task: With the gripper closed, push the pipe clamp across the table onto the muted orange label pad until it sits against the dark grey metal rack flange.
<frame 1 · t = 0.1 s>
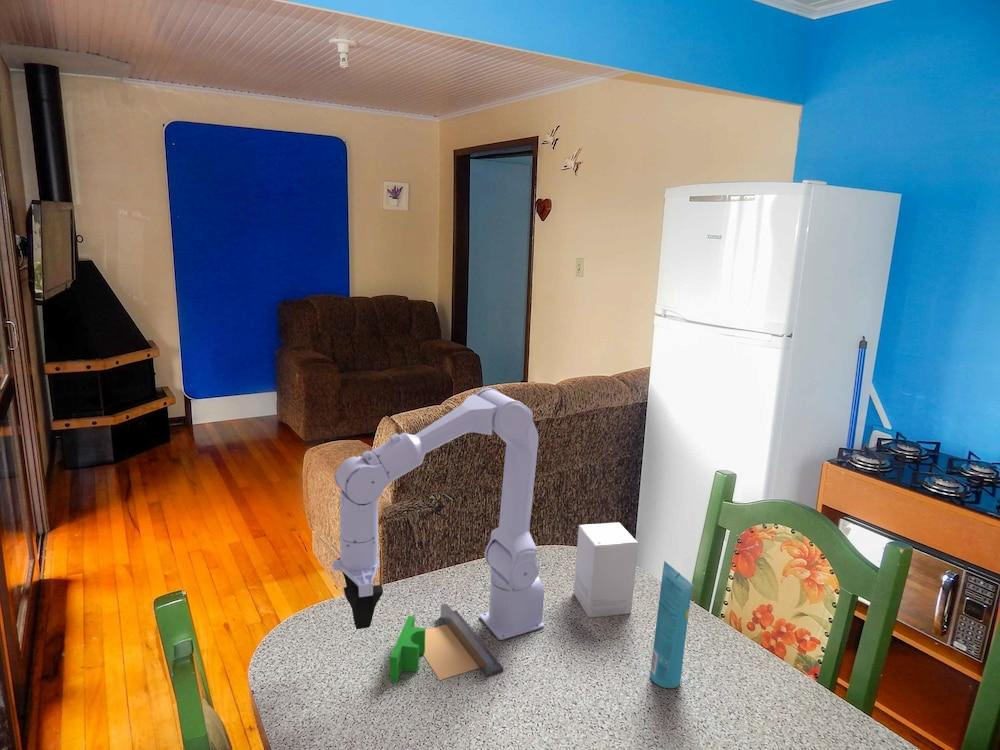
hand: (359, 613, 103), 10 cm above the table, tool pointing down, fingers open, 7 cm apart
rack flange: (463, 644, 112), on the table
tube: (665, 679, 106), on the table
pipe clamp: (409, 661, 107), on the table, touching rack flange
supplement box: (601, 604, 127), on the table
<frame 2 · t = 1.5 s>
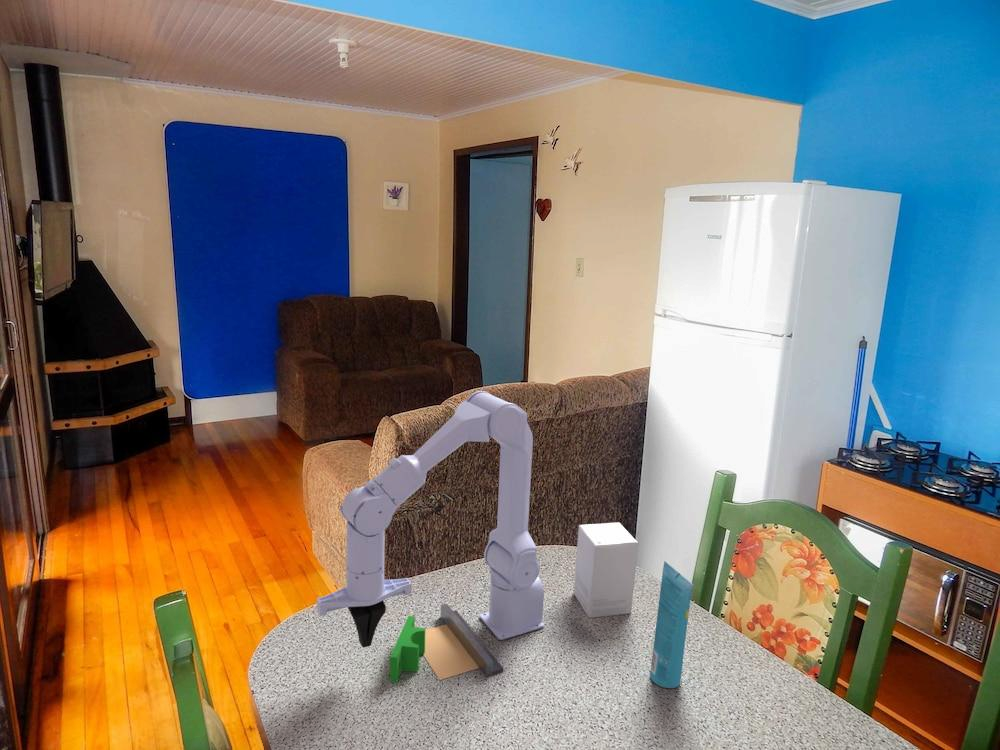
hand: (365, 643, 102), 6 cm above the table, tool pointing down, fingers closed
nothing on the table moved.
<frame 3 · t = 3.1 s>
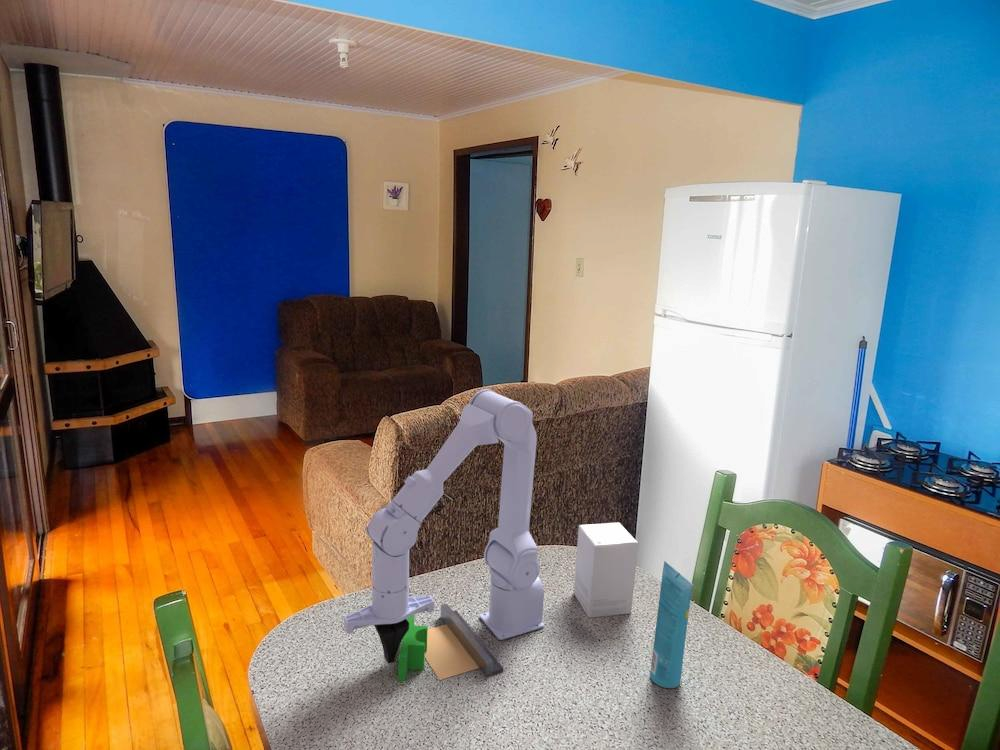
hand: (389, 659, 105), 1 cm above the table, tool pointing down, fingers closed
pipe clamp: (413, 660, 108), on the table, touching gripper, rack flange
everything else where it was.
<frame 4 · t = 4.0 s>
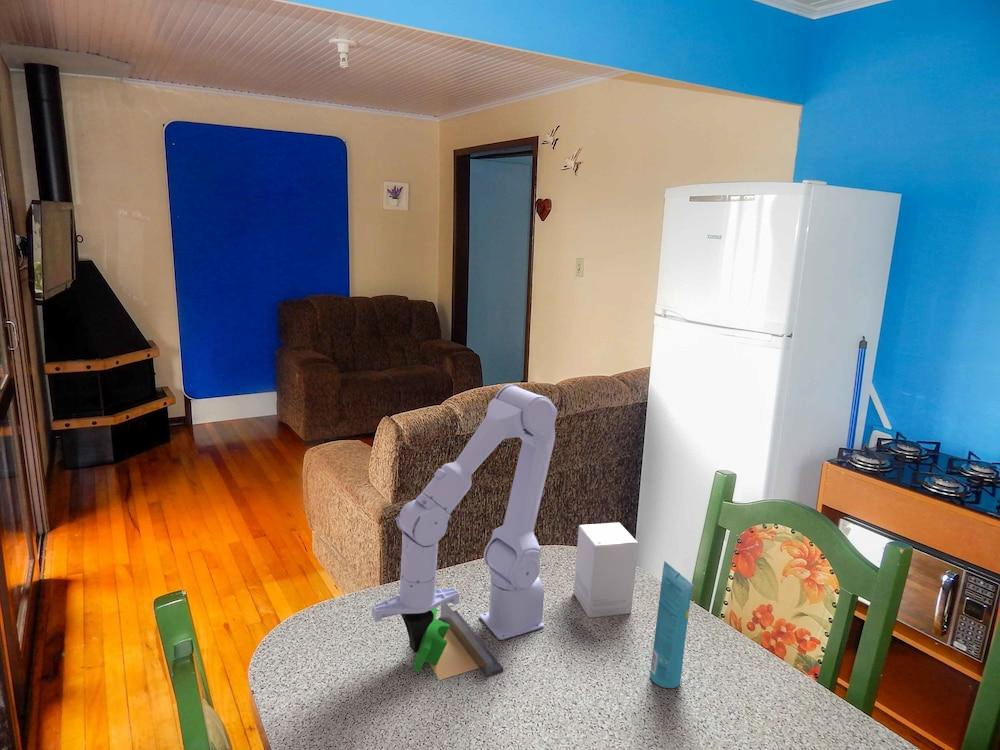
hand: (414, 649, 107), 2 cm above the table, tool pointing down, fingers closed, pressing on pipe clamp
pipe clamp: (426, 652, 109), point 1 cm above the table, touching gripper, rack flange
everything else where it was.
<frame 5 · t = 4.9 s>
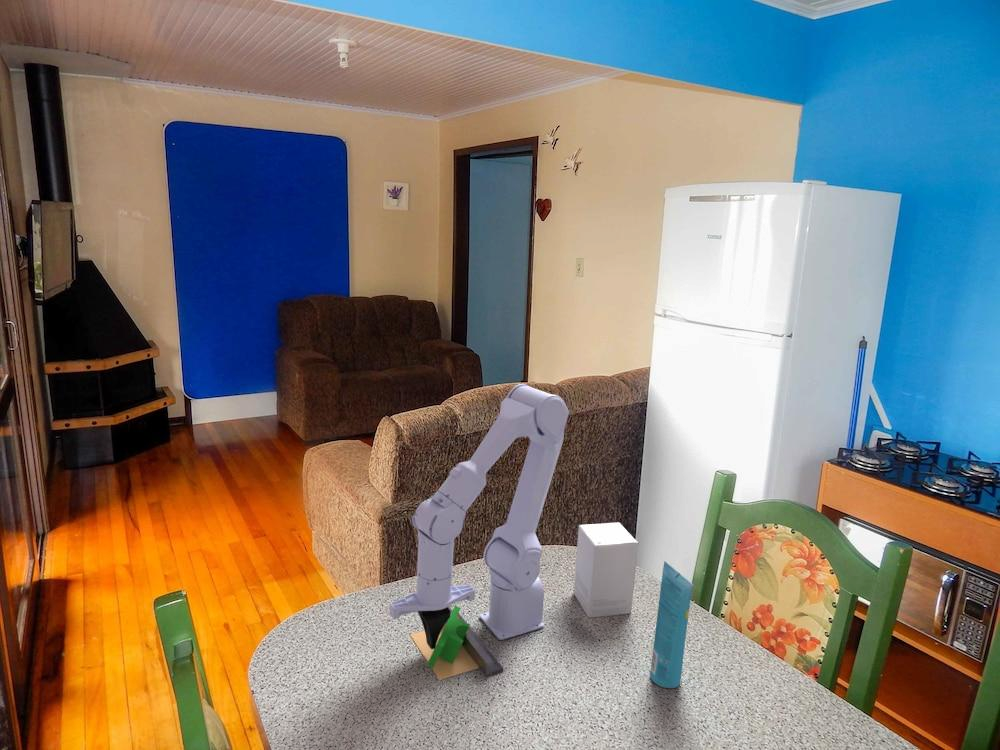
hand: (431, 645, 109), 2 cm above the table, tool pointing down, fingers closed, pressing on pipe clamp
pipe clamp: (445, 649, 110), point 1 cm above the table, touching gripper, rack flange
everything else where it was.
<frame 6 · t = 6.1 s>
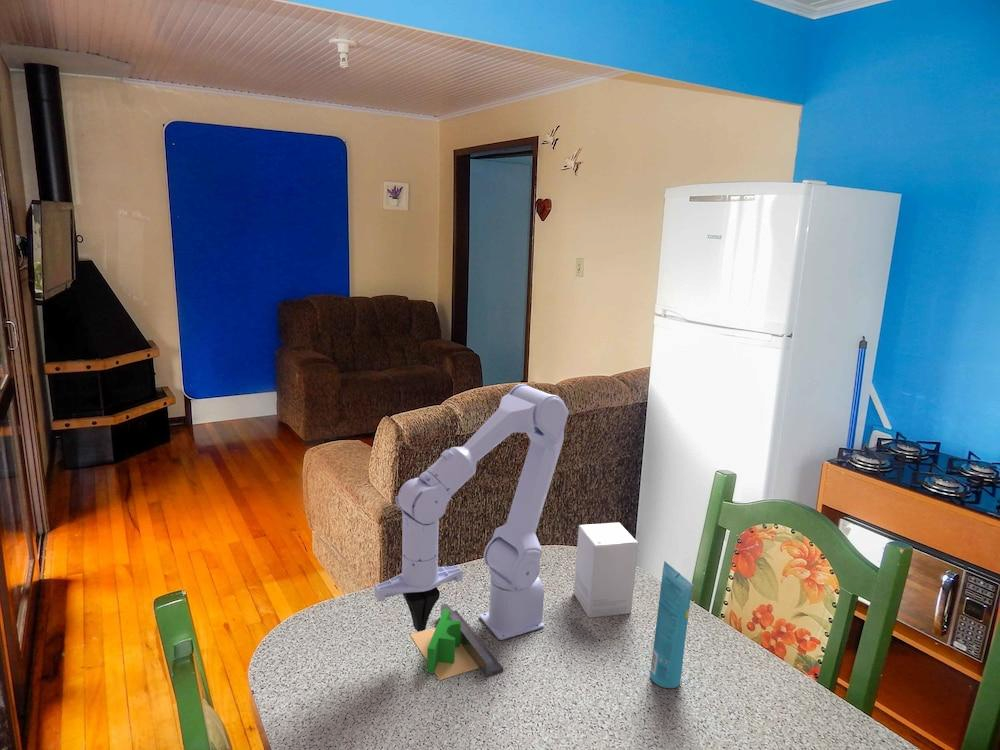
hand: (419, 627, 107), 6 cm above the table, tool pointing down, fingers closed
pipe clamp: (445, 653, 110), resting on rack flange
everything else where it was.
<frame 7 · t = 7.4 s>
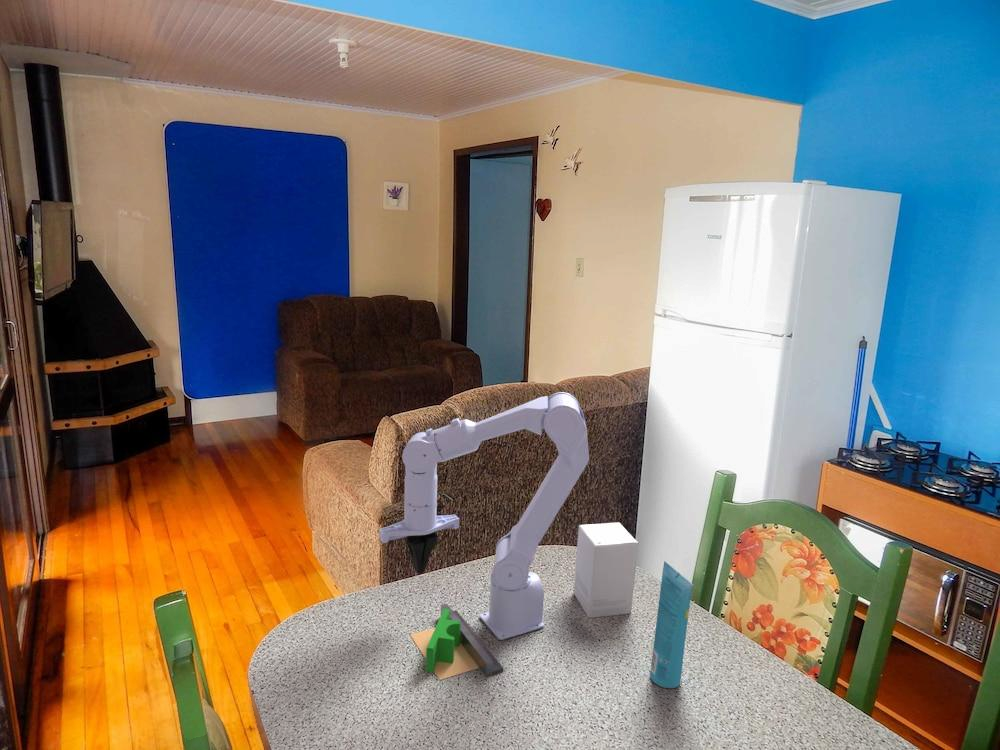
hand: (419, 570, 117), 9 cm above the table, tool pointing down, fingers closed
nothing on the table moved.
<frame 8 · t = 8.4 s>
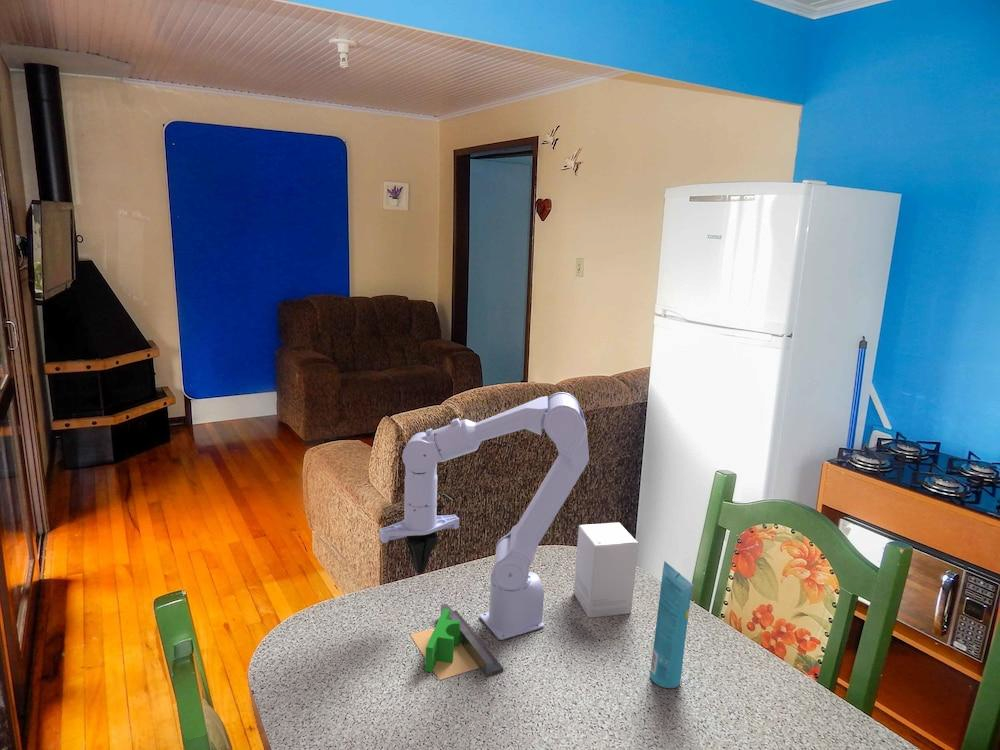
hand: (419, 570, 117), 9 cm above the table, tool pointing down, fingers closed
nothing on the table moved.
at the end: pipe clamp 0.5 cm from the target spot on the rack flange, point 0.0 cm above the rack flange's base; pipe clamp moved 6.1 cm from its start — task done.
